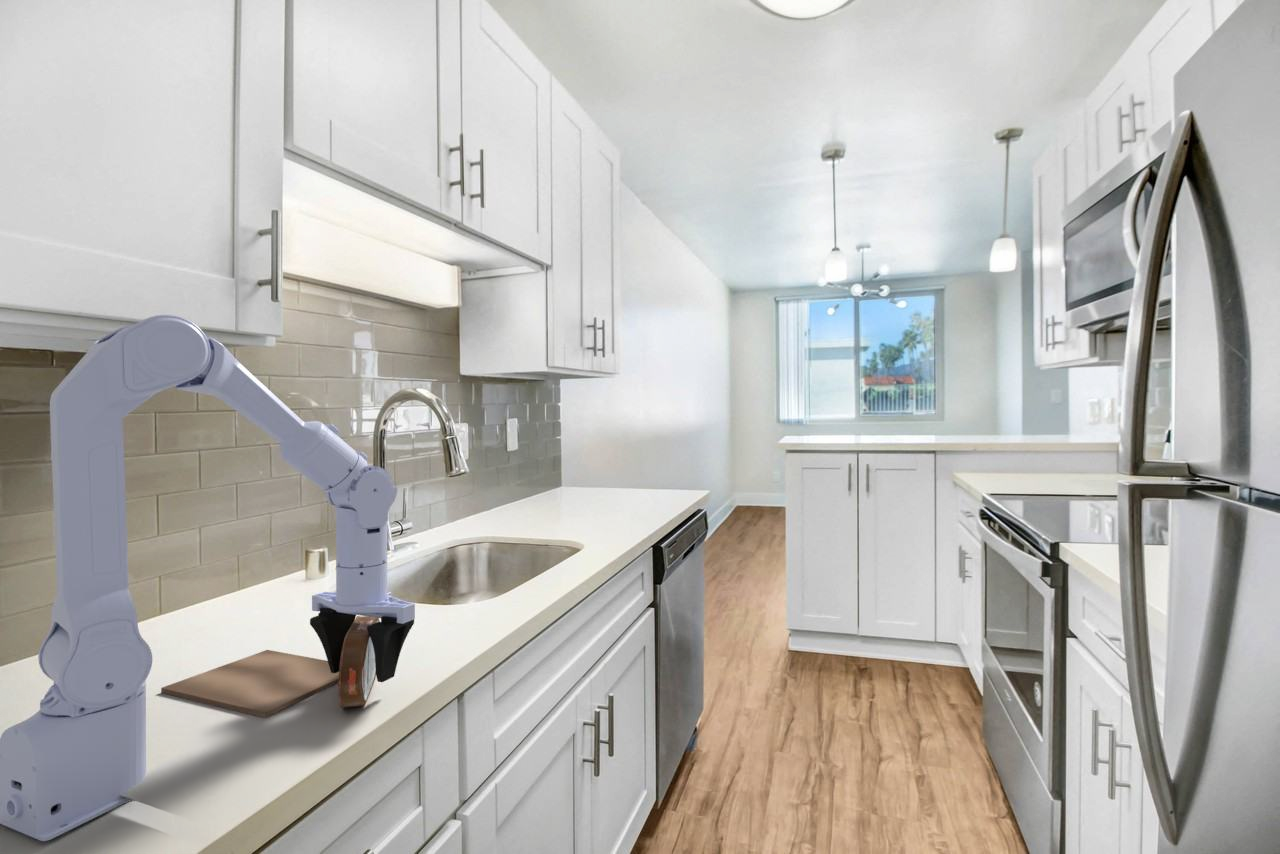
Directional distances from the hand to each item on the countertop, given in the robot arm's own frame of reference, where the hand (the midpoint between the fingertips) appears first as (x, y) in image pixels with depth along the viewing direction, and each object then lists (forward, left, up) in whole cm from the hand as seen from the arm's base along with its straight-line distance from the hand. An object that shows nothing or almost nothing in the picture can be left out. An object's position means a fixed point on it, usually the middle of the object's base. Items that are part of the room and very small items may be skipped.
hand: (362, 674), depth 76 cm
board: (-2, +14, -2) cm, 14 cm away
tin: (0, 0, -2) cm, 2 cm away
